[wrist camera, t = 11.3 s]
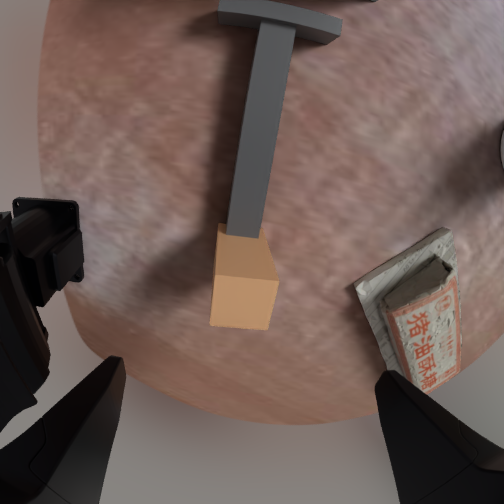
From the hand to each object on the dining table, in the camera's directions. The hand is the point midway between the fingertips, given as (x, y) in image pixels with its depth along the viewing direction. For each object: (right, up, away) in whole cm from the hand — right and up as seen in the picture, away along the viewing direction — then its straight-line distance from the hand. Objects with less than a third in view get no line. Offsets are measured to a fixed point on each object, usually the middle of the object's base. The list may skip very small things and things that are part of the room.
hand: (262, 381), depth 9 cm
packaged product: (+16, -2, +17) cm, 24 cm away
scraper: (0, +11, +9) cm, 14 cm away
